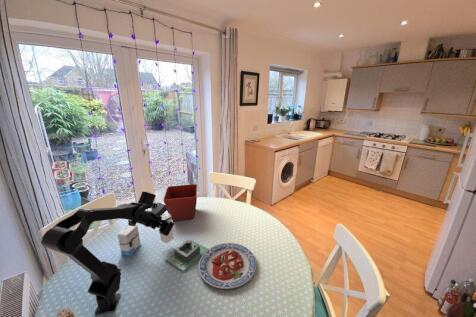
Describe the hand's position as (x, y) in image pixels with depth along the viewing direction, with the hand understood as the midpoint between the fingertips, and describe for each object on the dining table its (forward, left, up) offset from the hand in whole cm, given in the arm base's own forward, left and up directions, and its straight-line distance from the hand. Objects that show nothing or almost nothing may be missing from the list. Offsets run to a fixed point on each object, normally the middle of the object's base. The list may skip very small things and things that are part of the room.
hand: (168, 226), depth 102 cm
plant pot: (+28, -5, -11) cm, 31 cm away
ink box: (+1, +19, -11) cm, 22 cm away
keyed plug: (-1, +1, -7) cm, 7 cm away
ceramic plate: (-19, -27, -12) cm, 35 cm away
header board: (-9, -9, -11) cm, 17 cm away
